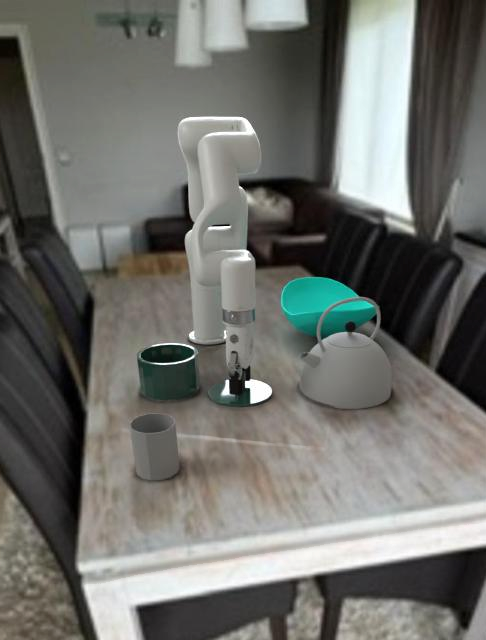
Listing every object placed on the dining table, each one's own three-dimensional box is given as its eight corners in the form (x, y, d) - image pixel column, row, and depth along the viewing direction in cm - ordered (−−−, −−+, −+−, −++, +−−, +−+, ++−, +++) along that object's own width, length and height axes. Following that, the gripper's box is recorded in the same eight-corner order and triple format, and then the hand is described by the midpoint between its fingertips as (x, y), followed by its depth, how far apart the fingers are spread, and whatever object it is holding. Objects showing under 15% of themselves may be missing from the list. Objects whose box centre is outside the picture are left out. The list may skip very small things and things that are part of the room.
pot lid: (217, 381, 147) (216, 358, 143) (276, 385, 144) (277, 362, 141) (200, 406, 134) (199, 381, 131) (265, 411, 131) (265, 386, 128)
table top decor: (396, 352, 164) (402, 306, 156) (305, 361, 158) (308, 314, 151) (342, 314, 196) (346, 274, 189) (266, 320, 190) (266, 279, 183)
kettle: (324, 418, 128) (331, 319, 116) (275, 383, 145) (276, 293, 133) (410, 396, 138) (425, 303, 125) (354, 366, 154) (362, 281, 142)
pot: (153, 376, 149) (149, 341, 144) (206, 380, 147) (204, 345, 142) (132, 399, 137) (127, 362, 132) (189, 404, 135) (187, 366, 130)
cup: (156, 454, 115) (151, 409, 109) (188, 465, 111) (184, 420, 105) (127, 472, 109) (120, 425, 104) (158, 485, 105) (153, 437, 100)
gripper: (246, 328, 120) (247, 403, 130) (262, 305, 135) (262, 375, 144) (212, 326, 122) (216, 400, 131) (231, 304, 136) (233, 373, 146)
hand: (240, 387), depth 138 cm, fingers open, 8 cm apart
